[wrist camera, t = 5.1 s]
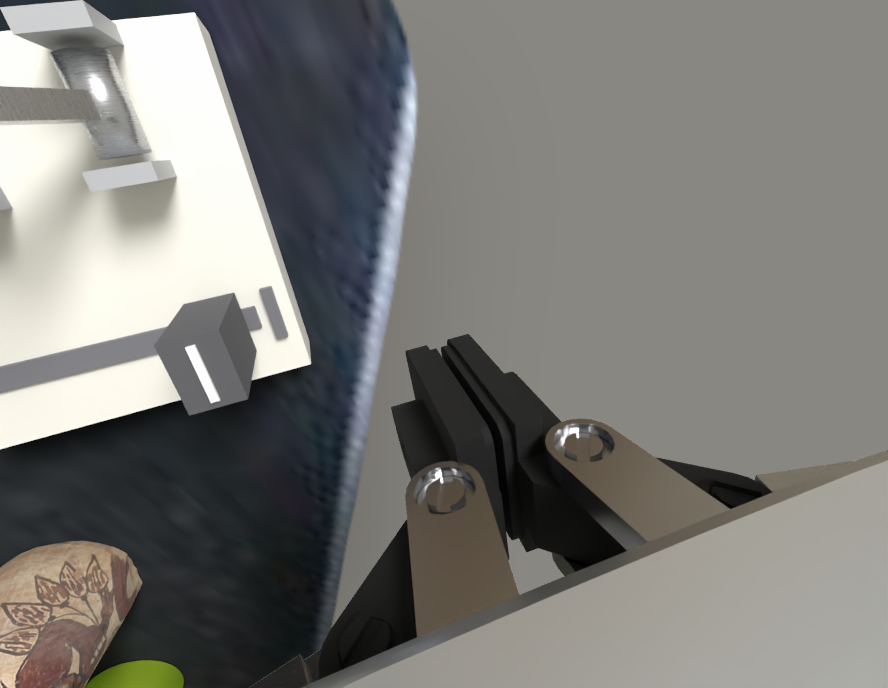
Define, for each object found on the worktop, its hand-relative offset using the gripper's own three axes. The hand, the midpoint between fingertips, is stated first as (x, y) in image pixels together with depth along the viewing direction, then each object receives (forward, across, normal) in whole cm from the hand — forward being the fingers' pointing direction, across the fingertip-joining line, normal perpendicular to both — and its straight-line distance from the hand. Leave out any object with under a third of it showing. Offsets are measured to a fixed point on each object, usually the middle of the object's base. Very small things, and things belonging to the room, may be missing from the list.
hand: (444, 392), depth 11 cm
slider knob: (+10, +7, 0) cm, 12 cm away
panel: (+13, +11, -4) cm, 18 cm away
